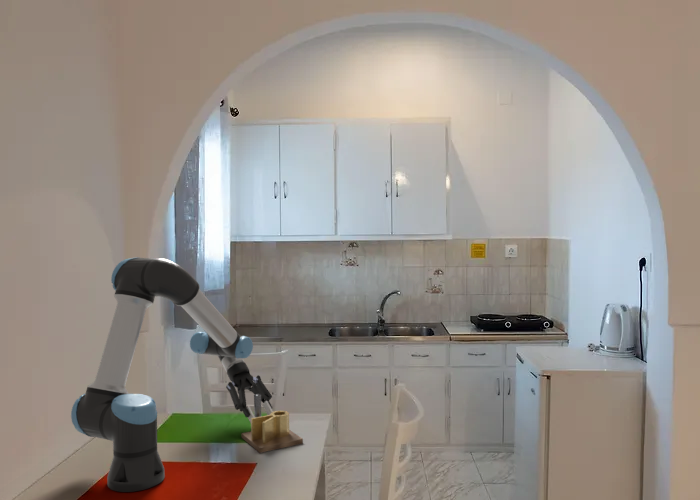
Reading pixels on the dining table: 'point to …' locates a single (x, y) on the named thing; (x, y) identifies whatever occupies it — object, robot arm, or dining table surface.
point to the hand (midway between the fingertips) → (264, 421)
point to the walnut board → (272, 442)
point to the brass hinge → (270, 426)
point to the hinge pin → (257, 405)
